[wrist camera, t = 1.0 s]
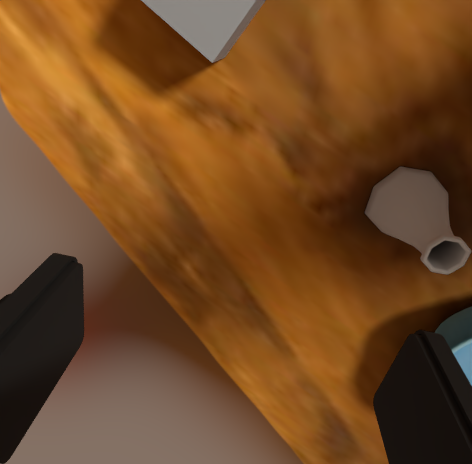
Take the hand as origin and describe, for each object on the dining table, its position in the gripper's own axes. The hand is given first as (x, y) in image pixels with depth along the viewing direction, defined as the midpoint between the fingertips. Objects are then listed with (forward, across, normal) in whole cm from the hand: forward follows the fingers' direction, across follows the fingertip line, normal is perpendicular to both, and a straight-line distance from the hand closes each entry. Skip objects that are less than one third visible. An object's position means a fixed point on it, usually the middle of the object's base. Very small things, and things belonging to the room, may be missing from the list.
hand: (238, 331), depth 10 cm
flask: (+26, -15, +4) cm, 31 cm away
